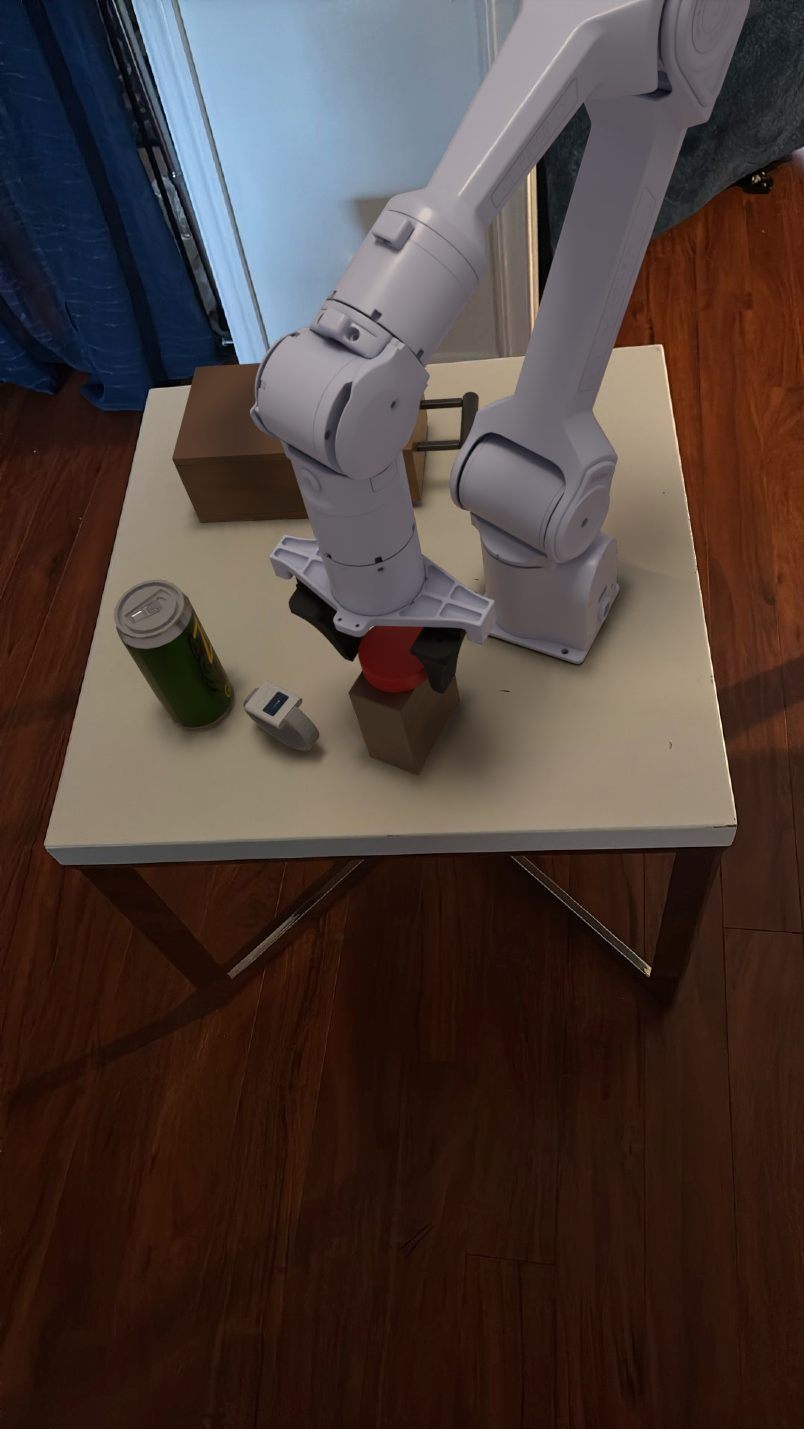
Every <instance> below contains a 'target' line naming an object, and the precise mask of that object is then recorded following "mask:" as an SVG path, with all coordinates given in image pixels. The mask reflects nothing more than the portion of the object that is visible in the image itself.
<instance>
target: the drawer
mask: <svg viewBox="0 0 804 1429" xmlns="http://www.w3.org/2000/svg"><path fill="white" fill-rule="evenodd" d="M479 403H480V397H479V395H478V393H476V392H474V391H467V392H465V393H464V394H463V395H462V397H450V398H449V397H447V398H435V399H426V397H425V392H424V393H423V395H422V397H421V400H420V405H419V412H418V417H417V421H416V424H415V427H414V430H413V433H412V435H411V437H410V439H409V441H408V443H407V445H406V446H405V447H404V448H403V449H402V452H403V458H404V463H405V469H406V474H407V479H408V485H409V490H410V495H411V501H421V500H422V492H423V491H422V490H423V480H424V466H425V456H426V455H425V454H426V452H442V451H460V449H461V447H462V446H463V445H464V443H465V441H466V439H467V437H468V435H469V433H470V431H471V428H472V426H473V423H474V420H475V416H476V413H477V411H479V405H480V404H479ZM458 408H459V409H461V414H460V428H459V431H460V432H459V439H448V440H432V441H427V431H428V421H429V420H428V419H429V417H428V411H427V410H441V409H458Z"/></svg>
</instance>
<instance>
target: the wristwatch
mask: <svg viewBox="0 0 804 1429" xmlns="http://www.w3.org/2000/svg"><path fill="white" fill-rule="evenodd" d="M242 703H243V709H244V711H245V713H246V714H247V716H248V717H249V718H250V719H251V720H252V721H253V722H254V723H255V724H256V725H257V726H258V727H259V728H261V729H262V730H264V731H265V732H266V733H267V734H269V735H270V736H272V737H273V738H274V739H275V740H277V741H279V742H281V743H282V744H284V745H286V746H288V747H290V748H292V749H295V750H297V751H303V752H308V751H310V750H311V749H312V747H313V746H314V745H315V744H316V743H317V741H318V740H319V739H320V735H321V734H320V732H319V729H318V728H317V726H316V724H314V722H313V721H312V719H311V718H309V716H308V715H307V714H306V713H305V712H303V711H302V710H301V709H300V706H301V705H302V704H303V698H302V697H300V696H298V695H297V694H294V693H292V692H290V691H289V690H287V689H285V688H283V687H281V686H280V685H277V684H276V683H274V682H272V681H270V680H265V681H264V682H263V683H262V684H261V686H260V687H256V688H254V689H253V690H252V691H251V692H250V693H249V695H248V696H247V697H246V698H245V699H244V701H243V702H242ZM287 723H288V724H289V725H290V726H291V727H292V728H291V727H290V726H288V725H287Z"/></svg>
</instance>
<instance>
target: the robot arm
mask: <svg viewBox="0 0 804 1429" xmlns="http://www.w3.org/2000/svg"><path fill="white" fill-rule="evenodd" d="M750 5H751V0H512V10H513V11H512V14H513V16H512V17H513V23H512V26H511V28H510V29H509V31H508V33H507V35H506V37H505V39H504V41H503V42H502V45H501V46H500V48H499V50H498V52H497V54H496V56H495V58H494V60H493V62H492V63H491V65H490V67H489V68H488V71H487V73H486V75H485V77H484V78H483V79H482V82H481V84H480V85H479V88H478V90H477V91H476V93H475V95H474V97H473V99H472V101H471V102H470V105H469V107H468V108H467V110H466V112H465V114H464V116H463V117H462V120H461V121H460V123H459V124H458V127H457V128H456V131H455V133H454V135H453V136H452V138H451V139H450V142H449V143H448V146H447V147H446V149H445V151H444V154H443V155H442V157H441V159H440V161H439V162H438V164H437V166H436V169H435V170H434V171H433V174H432V175H431V177H430V180H429V181H428V183H427V185H426V187H424V188H420V189H416V190H411V191H408V192H403V193H398V194H397V195H395V196H392V197H391V198H390V199H389V200H388V201H387V203H386V205H385V206H384V207H383V210H382V211H381V212H380V214H379V215H378V217H377V219H376V220H375V221H374V224H373V225H372V227H371V228H370V229H369V232H368V233H367V235H366V236H365V238H364V239H363V241H362V242H361V244H360V245H359V246H358V248H357V251H356V252H355V254H354V255H353V257H351V260H350V261H349V263H348V265H347V266H346V267H345V269H344V271H343V272H342V274H341V275H340V277H339V278H338V280H337V282H336V283H335V285H334V287H333V288H332V289H331V291H330V292H329V294H328V295H327V298H326V299H325V301H324V302H323V304H322V306H321V307H320V308H319V310H318V312H317V313H316V315H315V316H314V318H313V320H312V321H311V323H310V324H309V325H307V326H304V327H301V328H298V329H297V330H293V331H289V332H288V333H285V334H283V335H282V336H281V337H279V339H276V341H275V342H274V343H272V344H271V346H270V347H269V348H268V349H267V351H266V353H265V354H264V355H263V358H262V359H261V362H260V363H261V364H260V366H259V369H258V372H257V376H256V381H255V399H256V402H255V405H254V406H253V407H252V408H251V410H250V415H251V417H252V419H253V421H254V423H255V424H256V426H257V427H258V428H259V429H260V430H261V431H263V432H264V433H266V434H268V435H269V436H271V437H273V438H275V439H279V440H280V441H281V443H282V445H283V448H284V451H285V454H286V457H287V458H289V459H290V460H291V463H292V466H293V469H294V472H295V475H296V479H297V482H298V485H299V488H300V491H301V495H302V498H303V501H304V504H305V507H306V511H307V514H308V517H309V518H308V520H309V523H310V526H311V529H312V533H313V536H314V538H309V537H308V538H304V537H298V536H293V535H289V534H283V536H282V537H281V538H280V540H279V541H278V542H277V544H276V545H275V547H274V548H273V550H272V551H271V552H270V554H269V555H268V559H269V561H270V563H271V566H272V568H273V571H274V574H275V576H276V577H278V578H282V579H285V580H291V579H292V578H293V577H295V580H296V583H295V590H294V591H293V593H292V594H291V596H290V597H289V600H288V608H289V611H290V613H291V614H293V615H295V616H296V617H298V618H301V619H302V620H304V621H306V622H307V623H309V624H310V625H311V626H312V627H314V628H315V629H316V630H317V631H318V632H320V633H321V635H323V637H324V638H325V639H326V640H327V641H328V642H329V643H330V645H331V646H332V647H333V648H334V649H335V650H336V651H337V653H338V654H339V655H340V656H341V657H342V658H343V659H344V660H345V661H349V662H351V663H353V662H354V661H355V659H356V657H358V649H359V645H360V642H361V640H362V638H363V637H364V635H365V634H366V633H367V632H368V631H369V630H370V629H371V628H372V627H374V626H411V627H423V629H422V630H421V632H420V634H419V635H418V637H417V639H416V640H415V642H414V644H413V645H412V647H411V649H410V654H412V655H413V656H415V657H417V658H418V659H419V660H420V662H421V663H422V664H423V666H424V668H425V670H426V672H427V676H428V680H429V684H430V686H431V688H432V689H433V691H435V692H438V693H440V694H444V693H445V691H446V689H447V687H448V686H449V684H450V682H451V680H452V679H453V677H454V675H455V674H457V668H458V660H459V655H460V652H461V648H462V645H463V642H464V640H465V637H466V638H467V640H468V641H469V642H472V643H475V644H478V645H481V646H482V645H484V643H485V641H486V640H487V638H488V637H489V636H491V637H494V638H497V639H500V640H503V641H505V642H509V643H511V644H515V645H517V646H521V647H524V648H527V649H529V650H533V651H536V652H538V653H539V652H540V653H542V654H545V655H549V656H551V657H554V658H558V659H560V660H563V661H566V662H569V663H573V664H577V665H579V664H581V663H584V661H585V658H586V657H587V655H588V653H589V651H590V649H591V647H592V646H593V643H594V641H595V639H596V638H597V635H598V634H599V631H600V629H601V627H602V625H603V624H604V622H605V620H606V619H607V617H608V614H609V612H610V609H612V608H611V607H612V605H613V604H614V602H615V600H616V598H617V596H618V594H619V592H620V584H619V583H618V582H617V581H618V563H619V562H618V561H619V541H618V539H617V538H616V537H614V536H612V535H610V534H607V533H605V532H603V531H601V529H602V527H603V526H604V523H605V521H606V518H607V515H608V512H609V509H610V504H611V486H612V484H613V483H612V482H613V478H614V476H615V471H616V465H617V463H618V459H619V456H618V454H617V452H616V450H615V448H614V446H613V445H612V443H611V441H610V440H609V438H608V436H607V435H606V433H605V431H604V430H603V428H602V426H601V424H600V423H599V421H598V420H597V418H596V415H595V413H594V406H595V404H596V400H597V398H598V395H599V392H600V389H601V386H602V382H603V380H604V376H605V375H606V374H605V373H606V370H607V367H608V365H609V362H610V360H611V359H610V358H611V356H612V354H613V350H614V347H615V344H616V342H617V338H618V335H619V333H620V329H621V327H622V323H623V320H624V318H625V314H626V311H627V309H628V306H629V302H630V299H631V296H632V294H633V291H634V289H635V288H634V287H635V284H636V282H637V280H638V276H639V274H640V273H639V272H640V271H641V267H642V265H643V261H644V258H645V256H646V252H647V249H648V246H649V243H650V241H651V238H652V234H653V232H654V229H655V226H656V222H657V220H658V216H659V214H660V210H661V208H662V205H663V202H664V198H665V196H666V193H667V190H668V187H669V184H670V181H671V178H672V176H673V172H674V169H675V166H676V163H677V160H678V158H679V153H680V151H681V148H682V146H683V142H684V139H685V137H686V133H687V130H688V128H691V127H695V126H698V125H702V124H705V123H707V122H708V121H709V119H710V117H711V115H712V112H713V109H714V107H715V104H716V100H717V98H718V96H719V95H720V93H721V90H722V87H723V84H724V81H725V78H726V76H727V73H728V70H729V68H730V64H731V61H732V59H733V55H734V53H735V50H736V46H737V44H738V41H739V38H740V35H741V32H742V30H743V27H744V24H745V21H746V18H747V15H748V12H749V8H750ZM583 104H584V106H585V109H586V112H587V115H588V117H589V120H590V126H591V127H590V130H589V131H590V132H589V135H588V138H587V142H586V145H585V149H584V152H583V155H582V158H581V162H580V165H579V168H578V172H577V176H576V180H575V182H574V187H573V190H572V193H571V197H570V199H569V200H570V201H569V204H568V207H567V211H566V214H565V217H564V220H563V224H562V228H561V231H560V234H559V238H558V241H557V245H556V248H555V251H554V255H553V259H552V262H551V266H550V269H549V272H548V276H547V279H546V283H545V286H544V289H543V292H542V293H543V294H542V296H541V300H540V303H539V307H538V311H537V313H536V318H535V320H534V324H533V327H532V330H531V334H530V337H529V341H528V345H527V347H526V351H525V355H524V359H523V361H522V365H521V369H520V372H519V375H518V378H517V382H516V386H515V389H514V393H513V394H511V395H508V396H505V397H502V398H500V399H497V400H494V401H492V402H490V403H488V404H486V405H484V406H483V407H482V408H480V409H478V411H477V413H476V416H475V420H474V423H473V426H472V428H471V431H470V433H469V435H468V437H467V439H466V441H465V443H464V445H463V446H462V447H461V449H459V450H458V452H457V454H456V456H455V459H454V461H453V464H452V467H451V470H450V476H449V496H450V498H451V501H452V502H453V504H454V505H455V506H456V507H457V508H458V509H461V510H464V511H467V512H469V515H470V523H471V526H473V528H476V530H477V531H478V534H479V538H480V547H481V556H482V565H483V573H484V582H485V591H484V593H483V594H482V595H481V594H480V593H478V592H477V591H475V590H473V589H470V588H469V587H467V586H466V585H465V584H463V583H462V582H461V581H460V580H458V579H457V578H455V576H453V575H451V574H450V573H449V572H447V570H445V569H444V568H442V567H441V566H440V565H438V564H437V563H435V562H434V561H433V560H431V559H430V558H429V557H428V556H426V555H425V554H423V553H422V546H421V542H420V538H419V531H418V527H417V522H416V516H415V511H414V506H413V500H411V495H410V490H409V485H408V479H407V474H406V469H405V463H404V458H403V452H402V449H403V448H404V447H405V446H406V445H407V443H408V441H409V439H410V437H411V435H412V433H413V430H414V427H415V424H416V421H417V417H418V412H419V405H420V400H421V397H422V395H423V393H424V394H425V391H426V390H427V388H428V386H429V384H428V382H429V380H430V378H431V375H430V373H429V372H428V371H427V369H426V368H427V366H428V364H429V362H431V359H432V358H433V356H434V355H435V353H436V352H437V350H438V349H439V347H440V346H441V344H442V343H443V341H444V339H445V338H446V337H447V335H448V333H449V332H450V330H451V329H452V328H453V326H454V324H455V322H456V321H457V320H458V318H459V316H460V314H461V313H462V311H463V310H464V308H465V307H466V305H467V304H468V303H469V301H470V299H471V298H472V296H473V295H474V293H475V291H476V290H477V289H478V286H479V285H480V283H481V282H482V281H483V279H484V277H485V276H486V274H487V272H488V266H489V265H488V253H487V244H486V243H487V242H486V232H487V230H488V228H489V227H490V226H491V225H492V223H493V222H494V221H495V219H496V218H497V217H498V215H499V214H500V213H501V211H502V210H503V209H504V207H505V206H506V205H507V203H508V202H509V201H510V199H511V198H512V197H513V195H514V194H515V193H516V192H517V190H518V189H519V187H520V186H521V185H522V184H523V182H524V181H525V180H526V179H527V177H528V176H529V175H530V174H531V172H532V170H533V169H534V168H535V167H536V166H537V164H538V163H539V162H540V160H541V159H542V158H543V157H544V155H545V154H546V152H547V151H548V150H549V148H550V147H551V145H552V144H553V143H554V142H555V140H556V139H557V138H558V137H559V135H560V134H561V133H562V131H563V130H564V128H565V127H566V126H567V125H568V123H569V122H570V120H571V119H572V118H573V117H574V115H575V114H576V113H577V112H578V110H579V109H580V108H581V106H582V105H583Z"/></svg>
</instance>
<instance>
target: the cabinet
mask: <svg viewBox="0 0 804 1429" xmlns="http://www.w3.org/2000/svg"><path fill="white" fill-rule="evenodd" d="M260 364H261V362H253V363H252V362H251V363H239V364H238V363H237V364H225V365H208V366H197V367H195V369H194V374H193V377H192V381H191V384H190V389H189V392H188V396H187V400H186V404H185V408H184V412H183V416H182V419H181V423H180V427H179V431H178V435H177V438H176V442H175V446H174V449H173V454H172V458H171V460H172V462H173V464H174V467H175V469H176V471H177V474H178V476H179V478H180V480H181V483H182V485H183V488H184V489H185V492H186V495H187V496H188V499H189V500H190V503H191V505H192V508H193V509H194V512H195V514H196V516H197V519H198V521H199V523H214V522H215V523H218V522H220V523H221V522H236V521H237V522H240V521H264V520H266V521H267V520H286V519H306V518H307V519H309V517H308V514H307V511H306V507H305V504H304V501H303V498H302V495H301V491H300V488H299V485H298V482H297V479H296V475H295V472H294V469H293V466H292V463H291V460H290V459H289V458H287V457H286V454H285V451H284V448H283V445H282V443H281V441H280V440H279V439H275V438H273V437H271V436H269V435H268V434H266V433H264V432H263V431H261V430H260V429H259V428H258V427H257V426H256V424H255V423H254V421H253V419H252V417H251V415H250V410H251V408H252V407H253V406H254V405H255V402H256V399H255V381H256V376H257V372H258V369H259V366H260Z"/></svg>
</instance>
